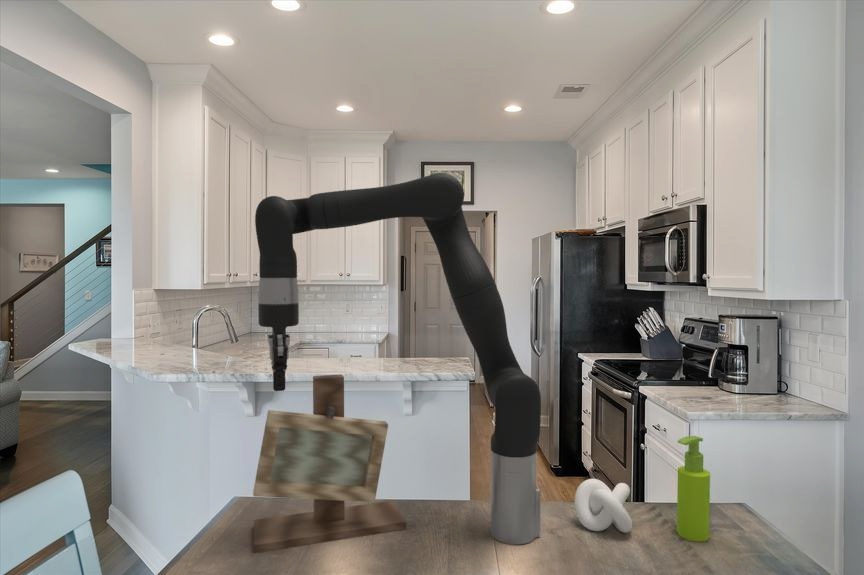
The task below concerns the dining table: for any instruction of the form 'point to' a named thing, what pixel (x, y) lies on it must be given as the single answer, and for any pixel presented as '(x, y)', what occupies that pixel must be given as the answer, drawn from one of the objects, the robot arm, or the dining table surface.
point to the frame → (320, 457)
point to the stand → (328, 514)
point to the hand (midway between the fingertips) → (279, 390)
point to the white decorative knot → (602, 506)
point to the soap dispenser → (693, 494)
